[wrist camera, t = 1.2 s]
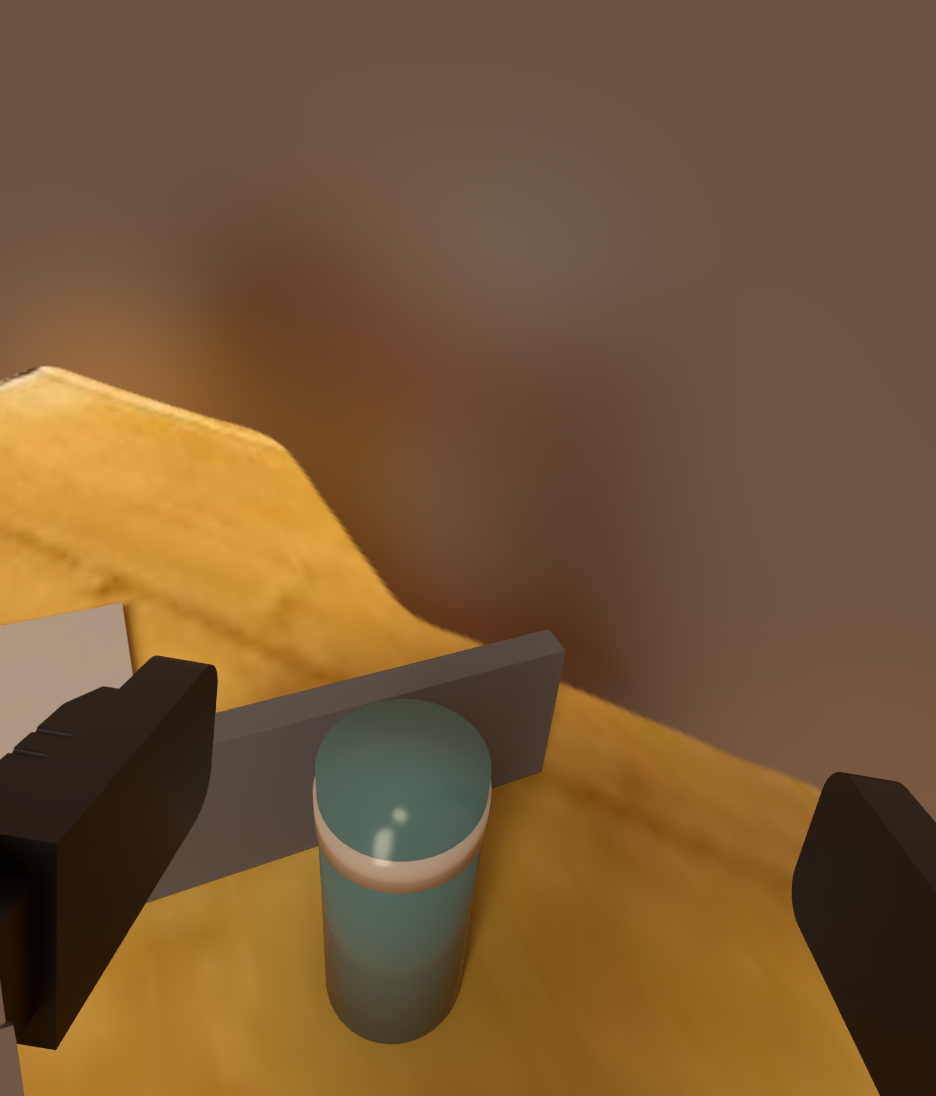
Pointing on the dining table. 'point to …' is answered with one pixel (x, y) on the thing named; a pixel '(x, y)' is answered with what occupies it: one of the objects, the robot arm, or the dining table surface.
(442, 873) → the canister
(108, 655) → the pad
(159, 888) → the screen
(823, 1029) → the dining table surface
